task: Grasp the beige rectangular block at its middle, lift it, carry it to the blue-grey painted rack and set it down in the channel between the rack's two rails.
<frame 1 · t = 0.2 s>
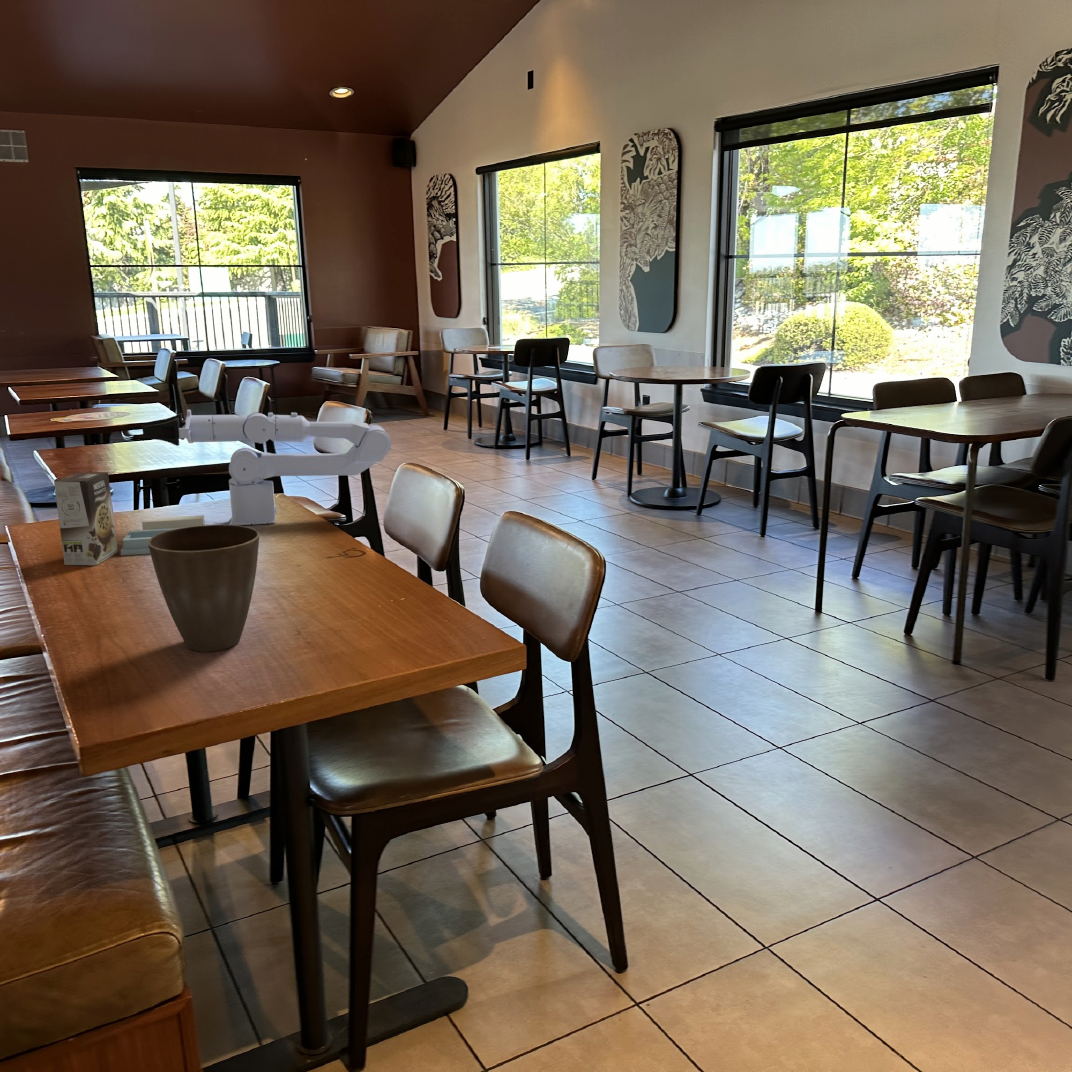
hand: (145, 429, 199), 21 cm above the table, tool horizontal, fingers open, 7 cm apart
beige rectangular block: (174, 533, 201), on the table
food box: (92, 560, 182), on the table
plant pot: (214, 643, 139), on the table
rack: (167, 546, 190), on the table
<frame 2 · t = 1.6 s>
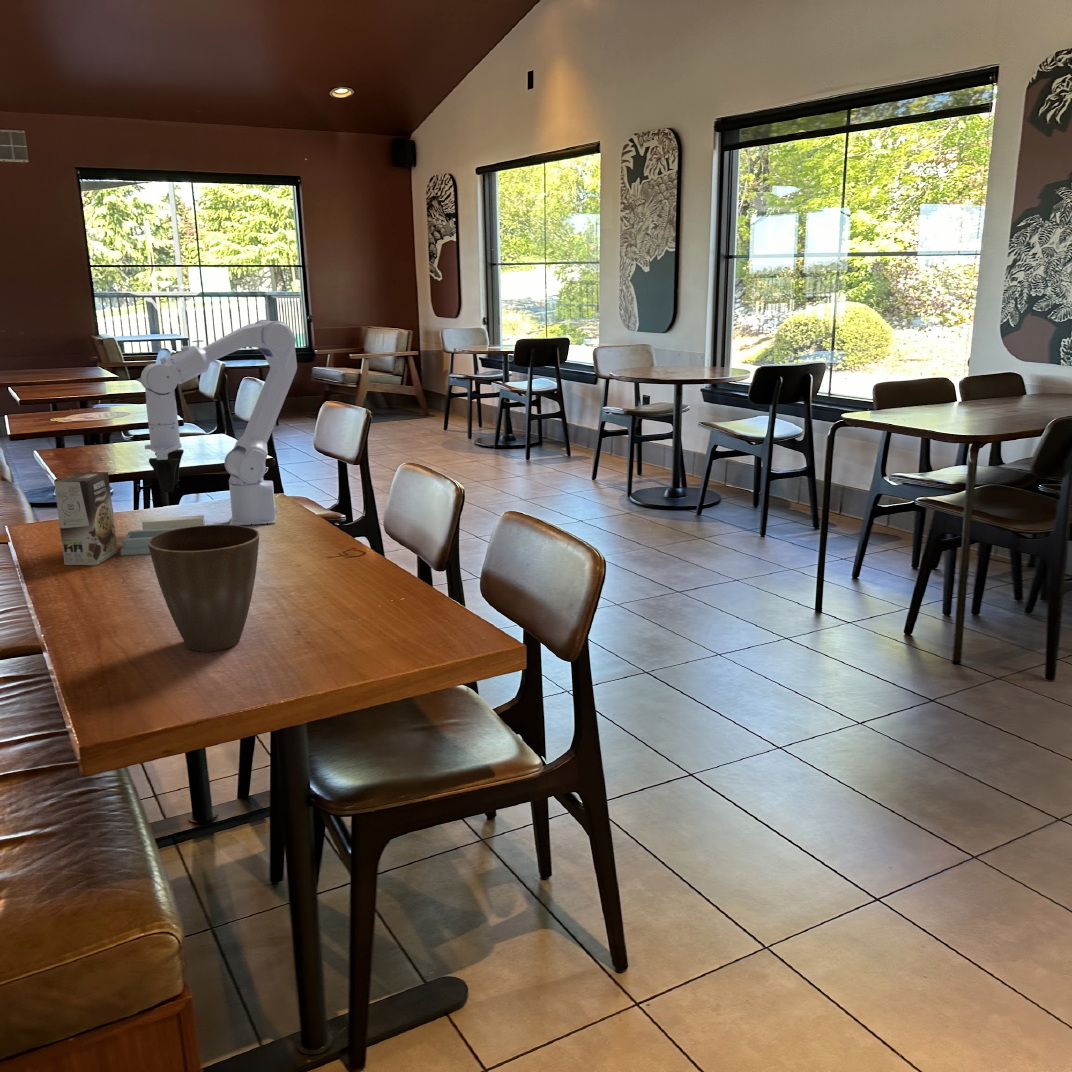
hand: (170, 488, 199), 9 cm above the table, tool pointing down, fingers open, 7 cm apart
nothing on the table moved.
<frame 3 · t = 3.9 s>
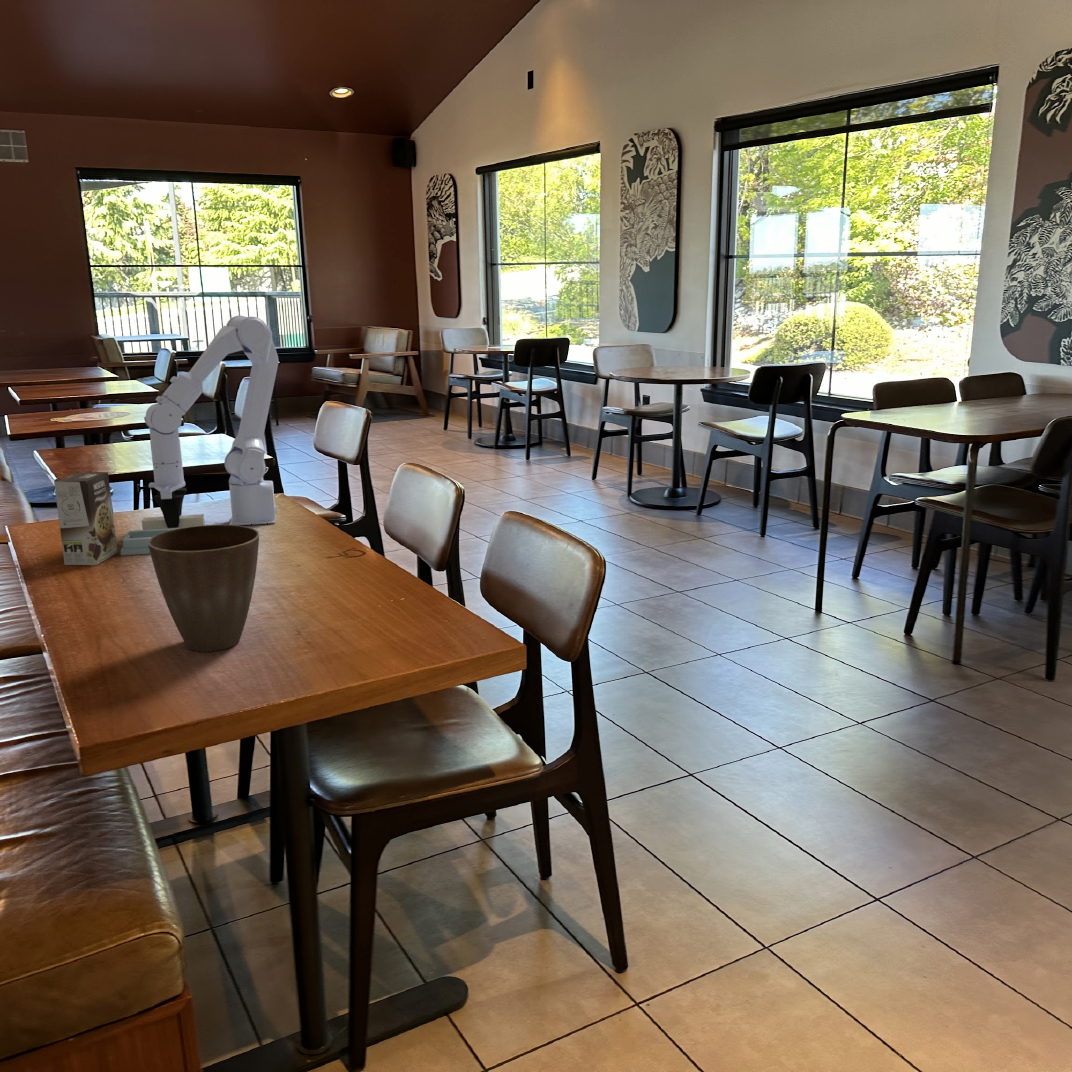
hand: (174, 525, 201), 1 cm above the table, tool pointing down, fingers closed on beige rectangular block, 3 cm apart
beige rectangular block: (174, 532, 201), on the table, touching gripper
everything else where it was.
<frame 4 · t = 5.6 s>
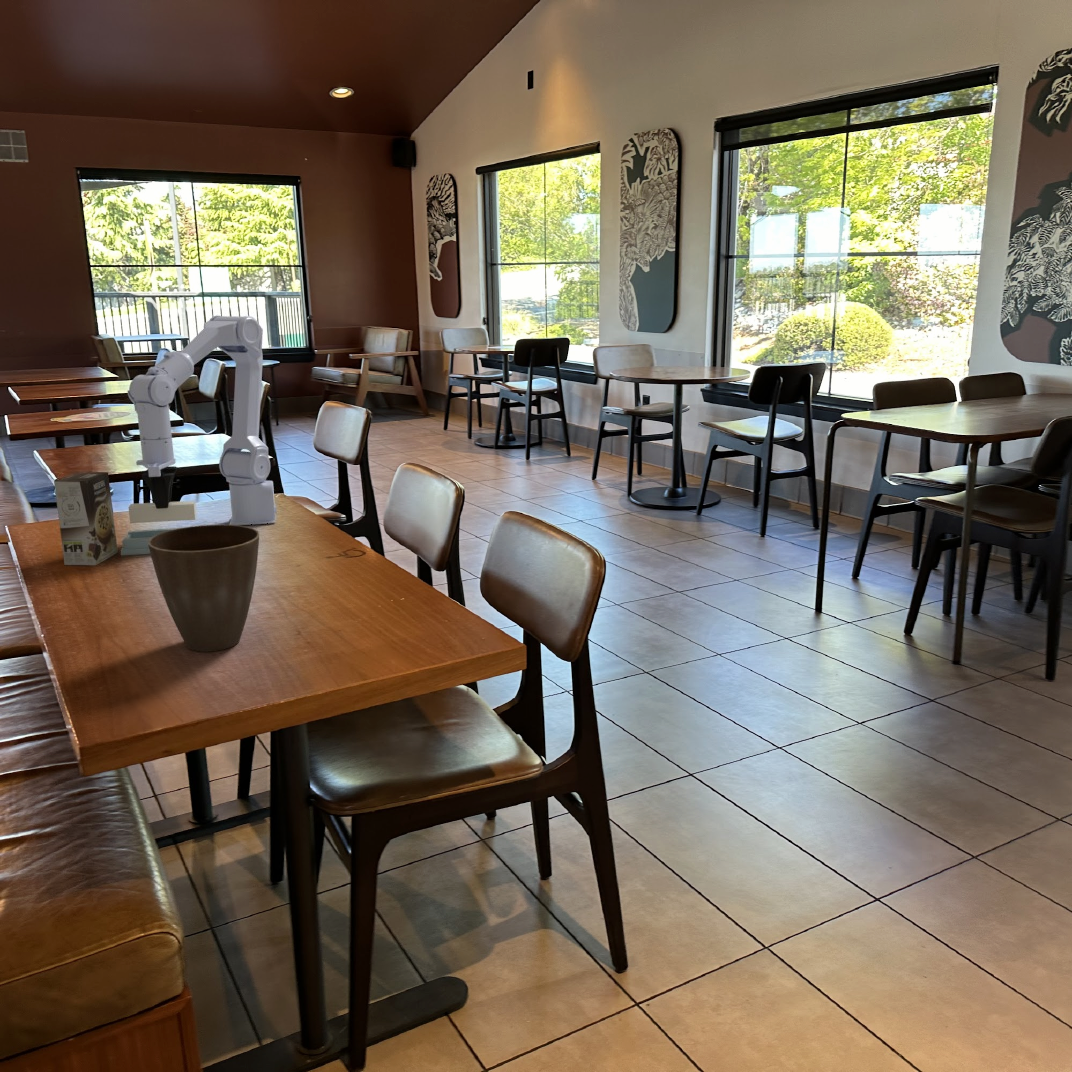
hand: (163, 506, 188), 8 cm above the table, tool pointing down, fingers closed on beige rectangular block, 3 cm apart
beige rectangular block: (163, 519, 188), point 6 cm above the table, touching gripper
everything else where it was.
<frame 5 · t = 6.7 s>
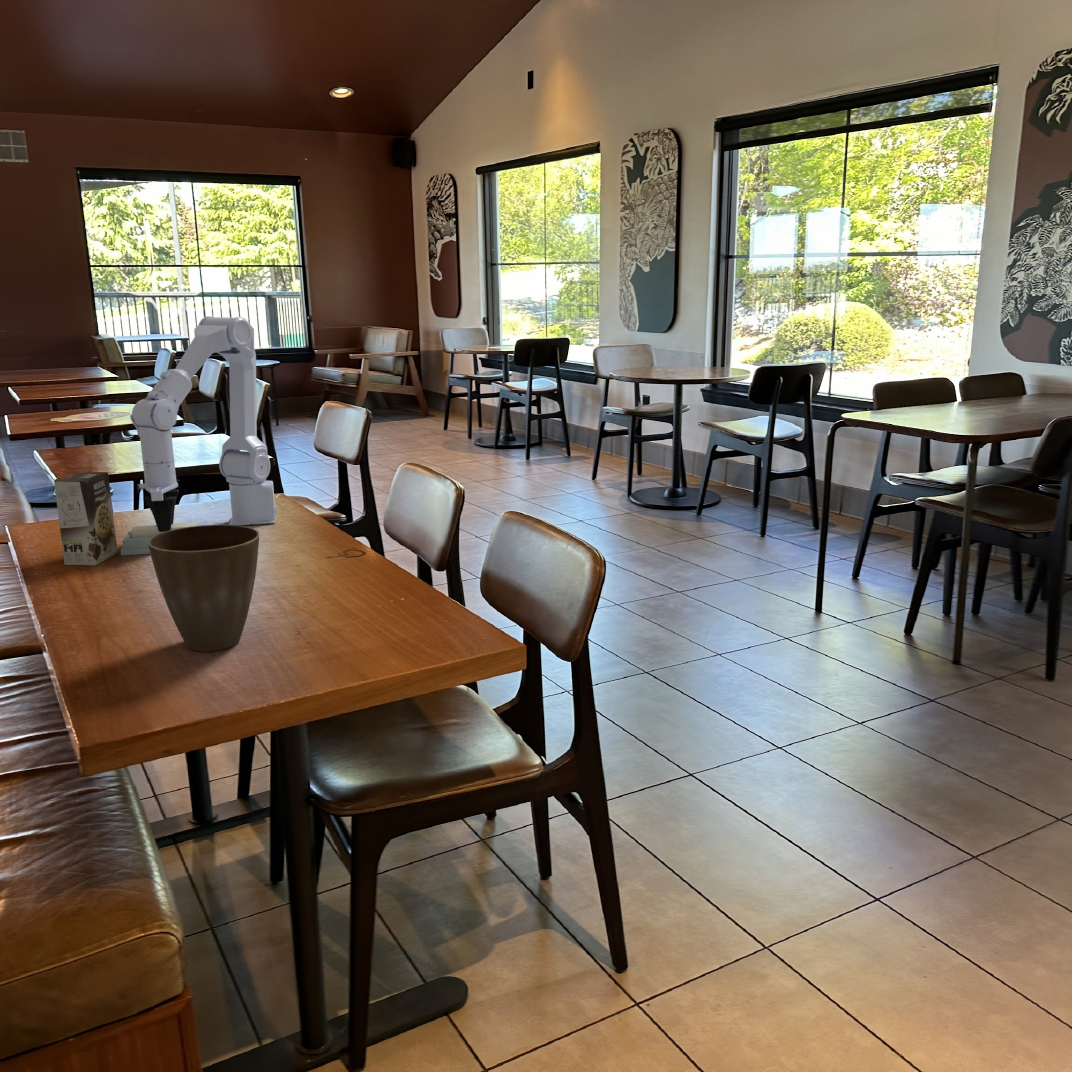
hand: (165, 529, 189), 4 cm above the table, tool pointing down, fingers closed on beige rectangular block, 3 cm apart
beige rectangular block: (166, 541, 189), point 1 cm above the table, touching gripper, rack
everything else where it was.
when the fingers open (4 cm above the table, at t = 7.1 s): beige rectangular block stays where it is, resting on rack.
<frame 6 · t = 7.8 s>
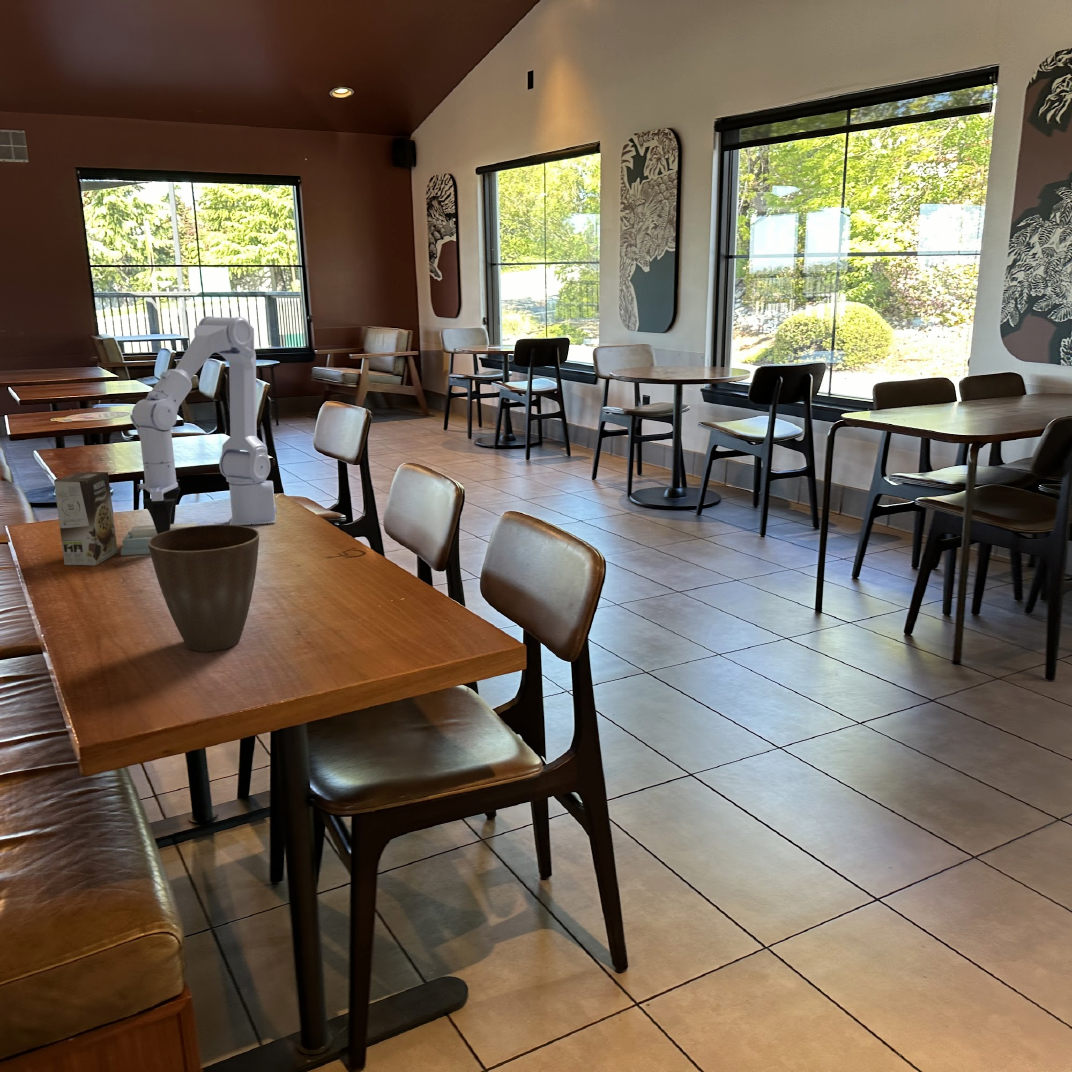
hand: (166, 529, 189), 4 cm above the table, tool pointing down, fingers open, 7 cm apart
beige rectangular block: (166, 541, 189), point 1 cm above the table, touching rack
everything else where it was.
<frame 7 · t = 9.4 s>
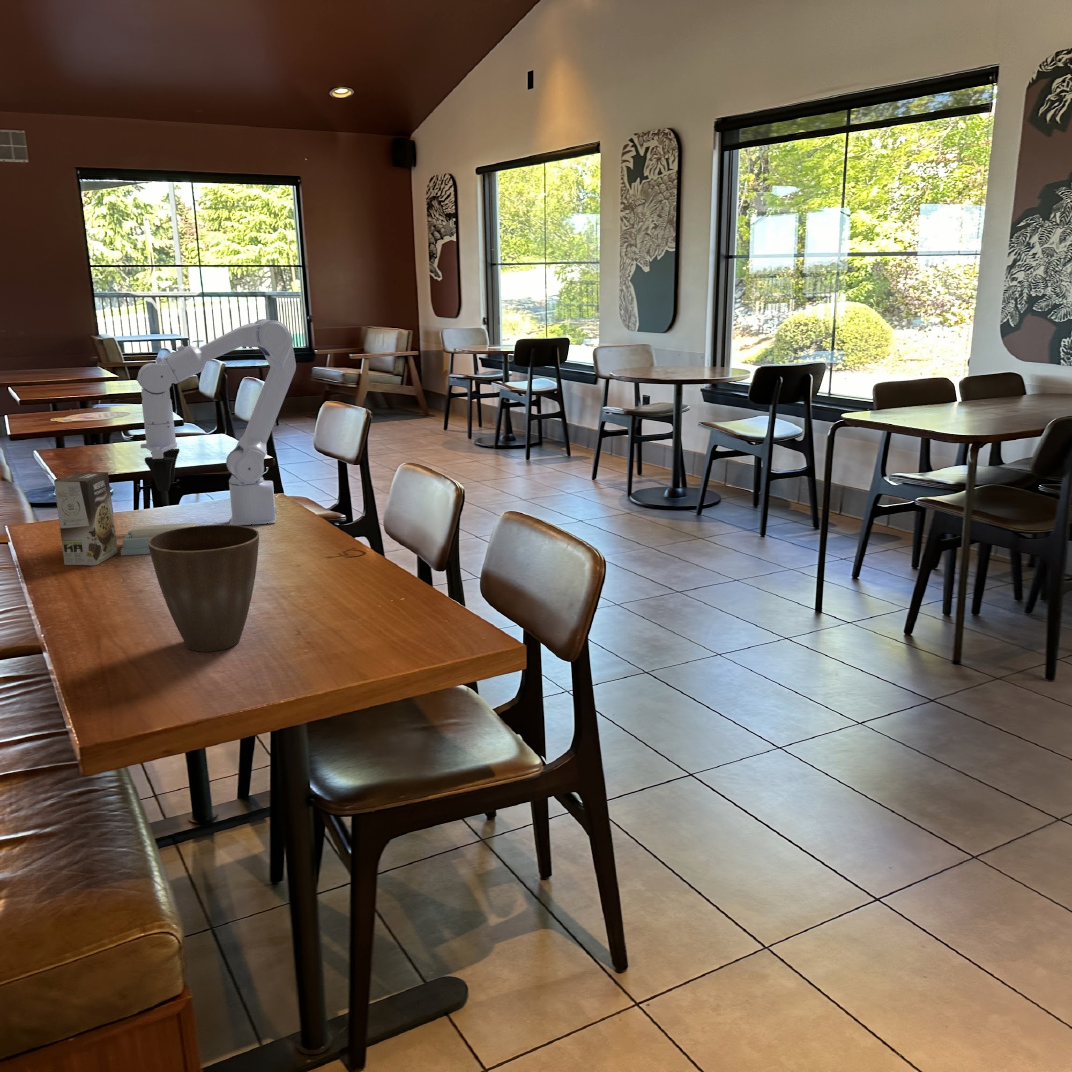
hand: (165, 487, 200), 9 cm above the table, tool pointing down, fingers open, 7 cm apart
nothing on the table moved.
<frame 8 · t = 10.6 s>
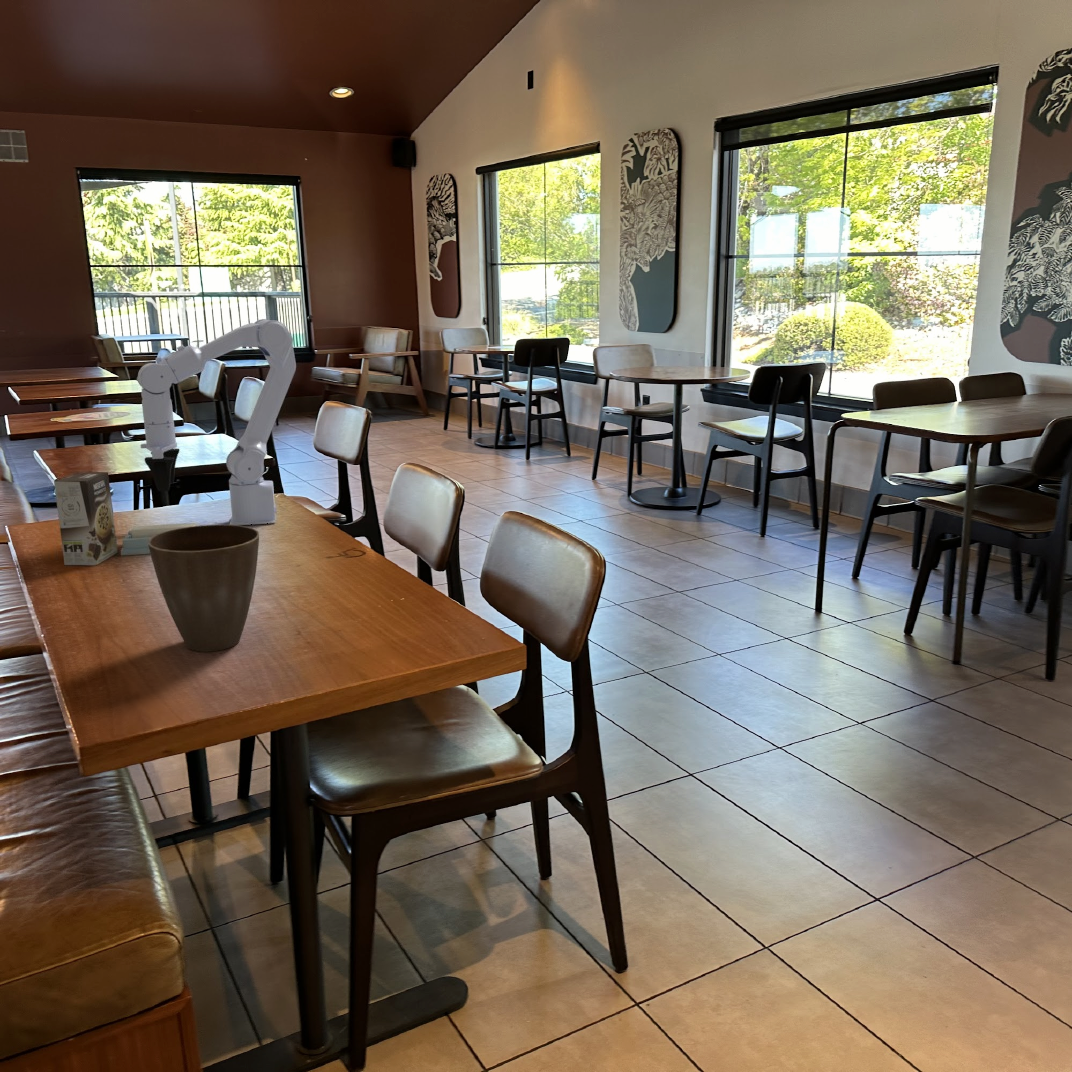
hand: (165, 487, 200), 9 cm above the table, tool pointing down, fingers open, 7 cm apart
nothing on the table moved.
at the end: beige rectangular block 0.2 cm off-centre on the rack, point 1.0 cm above the rack's base; beige rectangular block tilted 0°; the gripper is holding nothing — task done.
